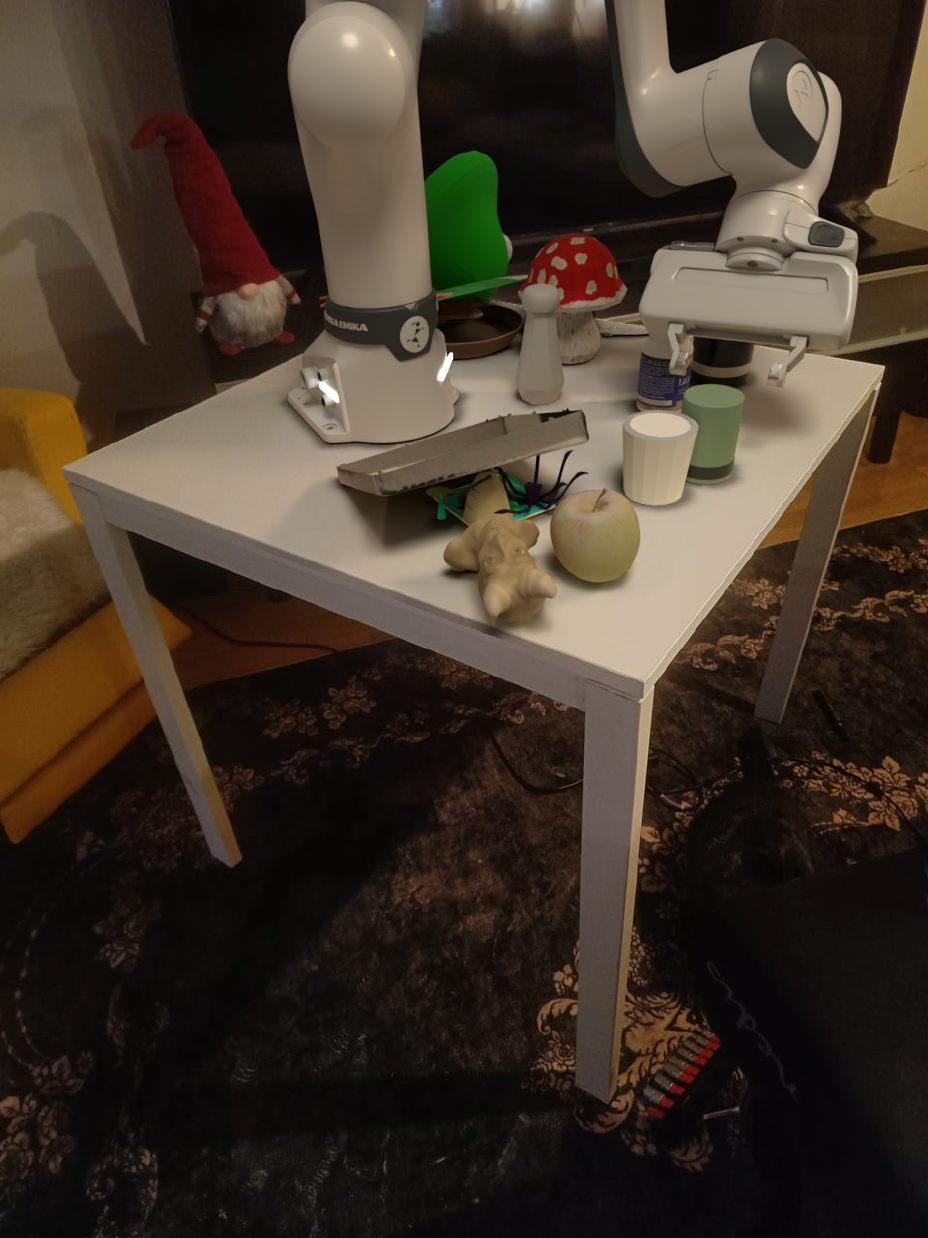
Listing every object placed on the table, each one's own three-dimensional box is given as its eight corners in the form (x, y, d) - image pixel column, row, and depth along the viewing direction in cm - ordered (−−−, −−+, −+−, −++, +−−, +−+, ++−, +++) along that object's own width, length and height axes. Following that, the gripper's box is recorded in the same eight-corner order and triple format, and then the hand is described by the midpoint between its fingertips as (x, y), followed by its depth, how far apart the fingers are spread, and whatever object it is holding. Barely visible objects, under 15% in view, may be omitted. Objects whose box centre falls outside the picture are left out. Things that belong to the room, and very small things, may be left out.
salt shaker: (573, 396, 97) (578, 284, 89) (543, 412, 94) (545, 297, 86) (535, 385, 100) (536, 276, 92) (506, 400, 97) (504, 288, 89)
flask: (675, 377, 100) (690, 258, 91) (712, 362, 103) (729, 246, 95) (724, 393, 95) (744, 270, 87) (761, 377, 99) (783, 256, 90)
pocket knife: (559, 332, 113) (559, 325, 114) (559, 338, 113) (559, 331, 115) (658, 330, 111) (656, 324, 113) (657, 336, 112) (655, 329, 113)
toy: (408, 285, 138) (468, 348, 138) (332, 296, 118) (403, 369, 118) (502, 149, 123) (570, 220, 123) (434, 134, 103) (515, 218, 103)
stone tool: (481, 304, 105) (371, 307, 107) (482, 328, 106) (373, 331, 109) (494, 290, 116) (395, 292, 119) (495, 311, 118) (396, 314, 120)
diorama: (409, 507, 77) (404, 455, 74) (534, 463, 83) (535, 413, 80) (473, 560, 70) (471, 504, 66) (606, 507, 76) (610, 453, 72)
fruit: (654, 563, 68) (664, 479, 63) (610, 606, 63) (618, 519, 58) (577, 536, 72) (581, 455, 67) (531, 575, 67) (531, 491, 62)
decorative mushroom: (498, 364, 106) (496, 242, 96) (549, 332, 115) (551, 217, 105) (593, 382, 99) (601, 253, 90) (639, 347, 108) (650, 226, 99)
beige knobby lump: (441, 570, 69) (471, 657, 59) (436, 497, 65) (469, 578, 55) (532, 556, 70) (576, 640, 61) (534, 484, 66) (582, 561, 56)
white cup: (674, 515, 74) (683, 446, 70) (605, 498, 77) (610, 431, 73) (699, 483, 79) (709, 416, 74) (633, 468, 82) (639, 403, 77)
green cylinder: (661, 470, 81) (670, 395, 76) (697, 453, 84) (708, 378, 79) (707, 490, 77) (720, 413, 72) (743, 471, 80) (758, 395, 75)
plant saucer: (492, 313, 123) (491, 293, 121) (545, 348, 110) (545, 326, 108) (383, 336, 118) (380, 315, 116) (426, 375, 105) (424, 352, 103)
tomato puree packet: (431, 306, 99) (559, 275, 107) (430, 296, 98) (558, 266, 106) (378, 310, 111) (496, 282, 119) (376, 301, 110) (495, 274, 119)
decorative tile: (378, 511, 64) (598, 441, 69) (367, 474, 63) (590, 405, 68) (341, 493, 83) (515, 439, 87) (332, 464, 82) (508, 410, 86)
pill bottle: (686, 419, 90) (697, 330, 84) (634, 417, 91) (642, 329, 85) (685, 398, 95) (696, 312, 88) (636, 397, 96) (644, 312, 90)
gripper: (654, 221, 80) (616, 351, 79) (876, 233, 72) (836, 377, 71) (662, 257, 86) (627, 378, 85) (868, 272, 78) (831, 406, 77)
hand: (724, 378), depth 78 cm, fingers open, 8 cm apart
